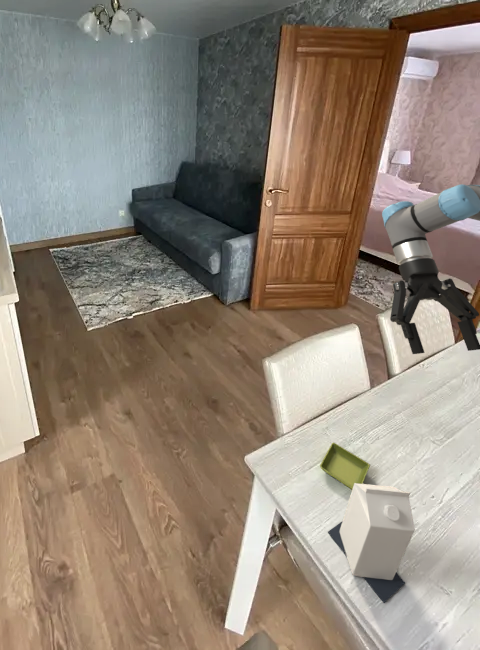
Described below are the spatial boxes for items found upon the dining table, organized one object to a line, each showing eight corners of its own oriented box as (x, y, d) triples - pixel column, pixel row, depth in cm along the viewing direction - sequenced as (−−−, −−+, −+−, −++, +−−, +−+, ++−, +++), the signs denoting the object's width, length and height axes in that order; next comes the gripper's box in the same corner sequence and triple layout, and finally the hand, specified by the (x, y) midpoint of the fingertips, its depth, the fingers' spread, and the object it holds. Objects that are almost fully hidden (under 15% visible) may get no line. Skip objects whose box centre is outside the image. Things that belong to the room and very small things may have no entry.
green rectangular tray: (356, 499, 76) (359, 492, 75) (317, 472, 81) (319, 466, 80) (368, 470, 82) (370, 464, 81) (331, 447, 87) (332, 441, 86)
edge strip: (404, 583, 62) (405, 582, 62) (383, 603, 60) (384, 602, 60) (347, 517, 72) (348, 516, 72) (327, 532, 70) (327, 531, 70)
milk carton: (338, 531, 70) (358, 468, 62) (375, 535, 69) (399, 472, 62) (352, 576, 63) (376, 510, 56) (392, 581, 62) (422, 515, 55)
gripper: (449, 265, 89) (482, 350, 81) (359, 268, 87) (383, 356, 79) (474, 255, 82) (513, 346, 74) (377, 258, 80) (406, 353, 72)
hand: (446, 352), depth 76 cm, fingers open, 13 cm apart
